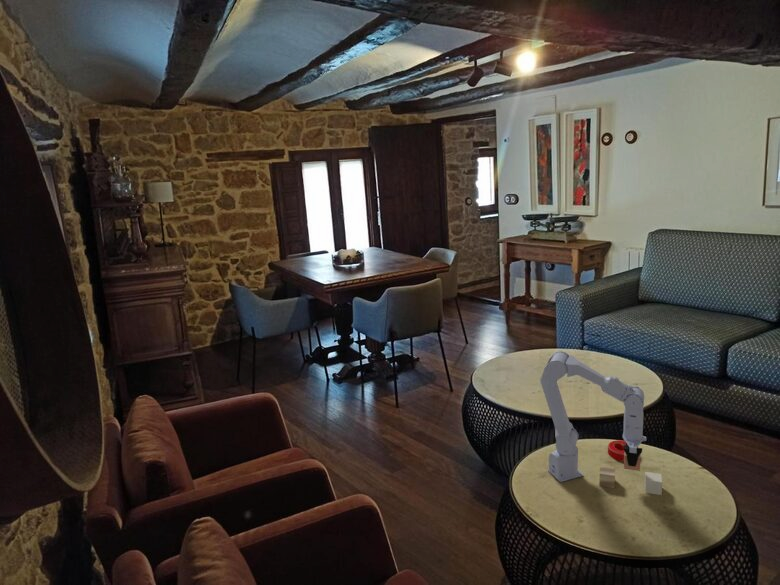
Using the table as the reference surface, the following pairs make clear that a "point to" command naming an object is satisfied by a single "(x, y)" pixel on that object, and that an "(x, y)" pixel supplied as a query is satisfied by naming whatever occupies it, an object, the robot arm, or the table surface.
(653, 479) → the cream cube
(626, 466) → the terracotta cube
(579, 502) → the table surface
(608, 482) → the beech cube
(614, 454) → the decorative ornament
